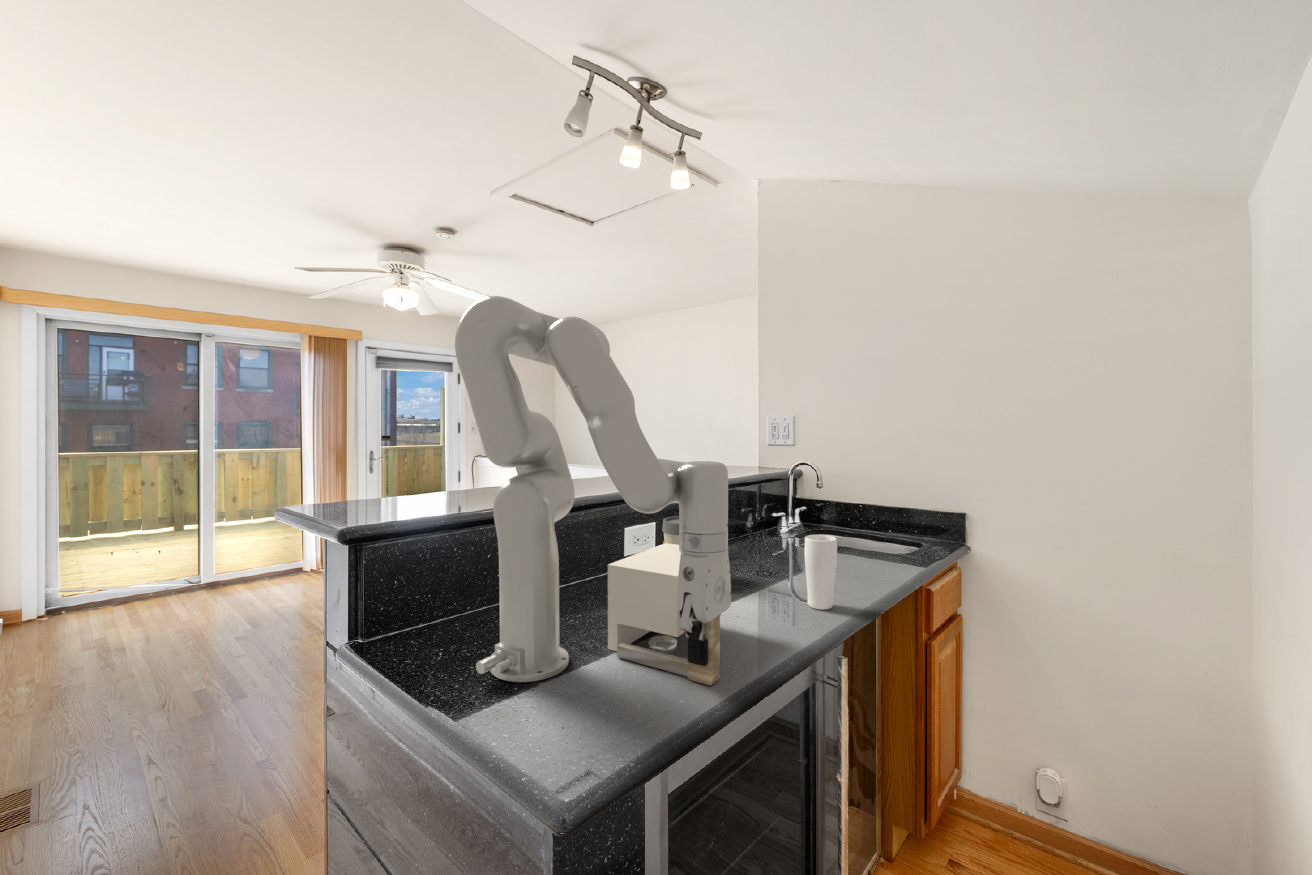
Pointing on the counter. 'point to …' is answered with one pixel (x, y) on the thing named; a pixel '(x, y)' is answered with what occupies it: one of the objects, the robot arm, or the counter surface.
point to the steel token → (663, 644)
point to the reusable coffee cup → (671, 530)
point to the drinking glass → (820, 570)
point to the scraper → (678, 664)
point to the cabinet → (643, 595)
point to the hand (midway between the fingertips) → (703, 658)
